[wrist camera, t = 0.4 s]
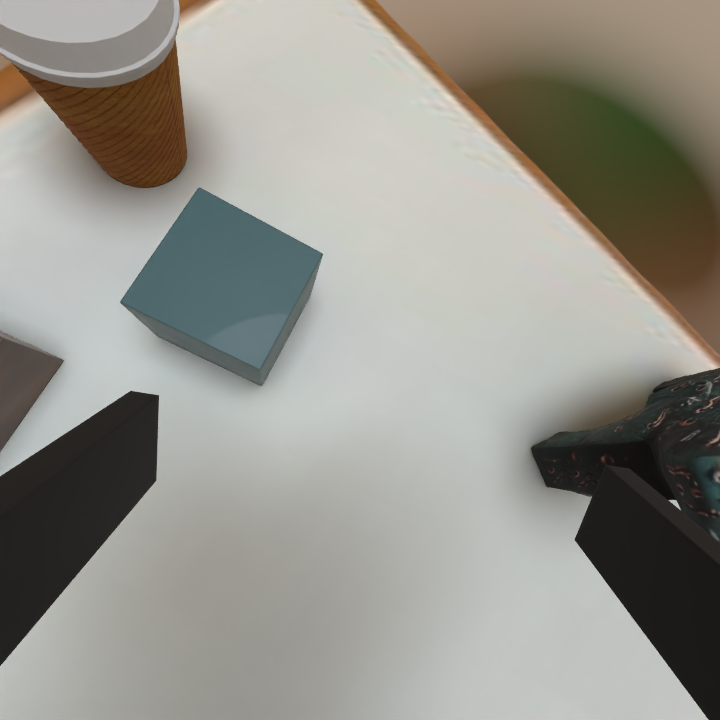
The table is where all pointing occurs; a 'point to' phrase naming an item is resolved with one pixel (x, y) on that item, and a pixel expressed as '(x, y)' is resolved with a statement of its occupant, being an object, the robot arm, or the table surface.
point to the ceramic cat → (651, 449)
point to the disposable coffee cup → (106, 78)
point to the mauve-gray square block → (21, 380)
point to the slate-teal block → (225, 286)
